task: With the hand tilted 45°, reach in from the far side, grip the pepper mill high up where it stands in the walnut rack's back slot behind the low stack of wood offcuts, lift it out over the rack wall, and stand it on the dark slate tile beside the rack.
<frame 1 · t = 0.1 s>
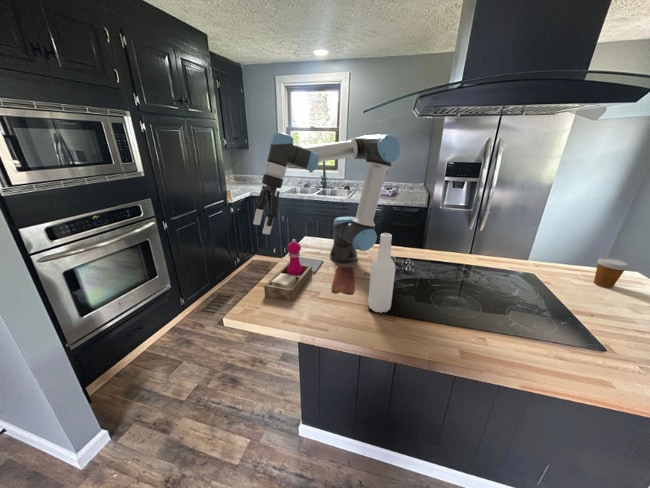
hand: (260, 229, 104), 28 cm above the countertop, tool tilted 20°, fingers open, 13 cm apart
walnut rack: (290, 284, 118), on the countertop
disposable coffee cup: (602, 285, 122), on the countertop
alcohol: (379, 307, 103), on the countertop
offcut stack: (284, 291, 113), resting in walnut rack
pepper mill: (295, 279, 123), resting in walnut rack
slate tile: (306, 265, 137), on the countertop
wooden tablet: (344, 280, 124), on the countertop
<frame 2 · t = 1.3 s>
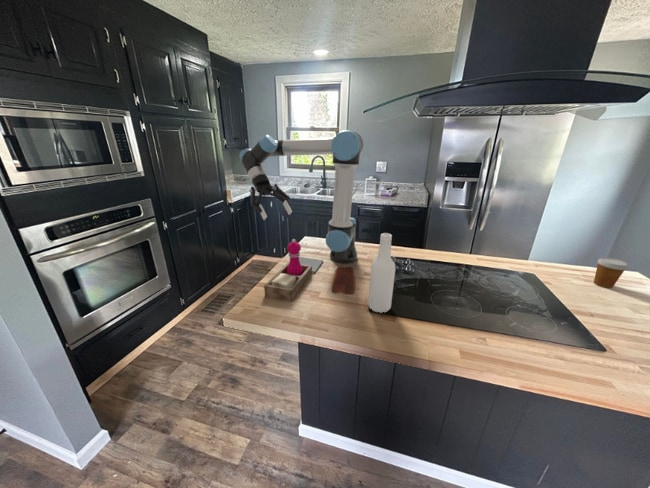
hand: (278, 215, 120), 28 cm above the countertop, tool tilted 45°, fingers open, 13 cm apart
nothing on the countertop moved.
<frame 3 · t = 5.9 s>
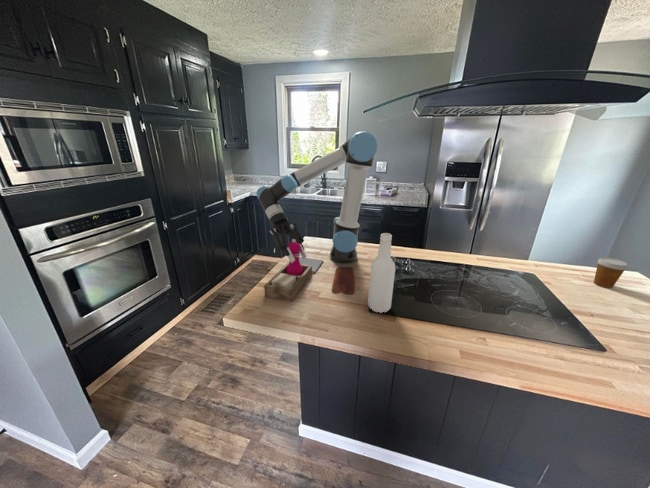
hand: (299, 259, 117), 11 cm above the countertop, tool tilted 45°, fingers closed on pepper mill, 6 cm apart
pepper mill: (295, 279, 123), resting in walnut rack, touching gripper
everything else where it was.
when the fingers open (13 cm above the countertop, at t = 14.0 s): pepper mill stays where it is, resting on slate tile.
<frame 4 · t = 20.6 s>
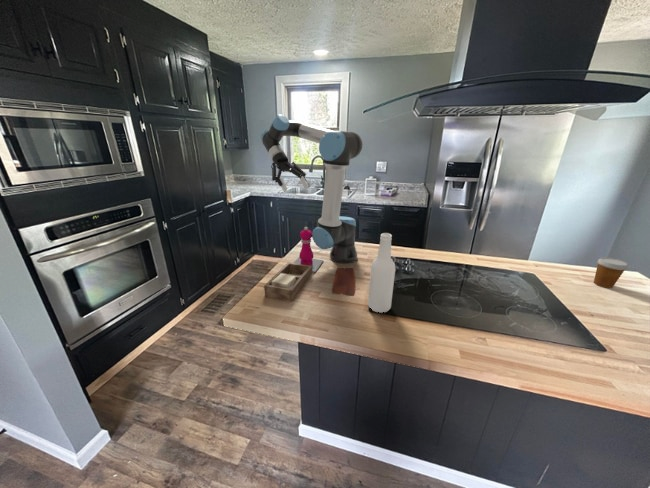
hand: (296, 189, 134), 38 cm above the countertop, tool tilted 45°, fingers open, 13 cm apart
pepper mill: (306, 264, 137), point 1 cm above the countertop, touching slate tile
everything else where it was.
at the end: pepper mill inside the target area on the slate tile (0.1 cm from its centre), point 0.8 cm above the slate tile's base; pepper mill tilted 0°; the gripper is holding nothing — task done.
